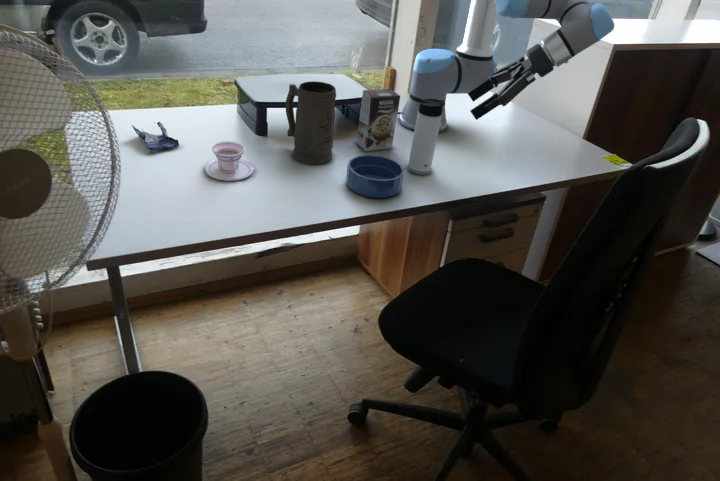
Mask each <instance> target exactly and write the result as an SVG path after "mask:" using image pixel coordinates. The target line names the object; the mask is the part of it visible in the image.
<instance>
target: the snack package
mask: <svg viewBox="0 0 720 481" xmlns="http://www.w3.org/2000/svg"><path fill="white" fill-rule="evenodd" d="M153 123H154V124H156V125H157V126H158V128H160V131H161V134H152V133H149V132H147V131H144V129H142V128H141V130H142V131H141V130H140V129H138V128H136V127H135V125H132V124H130V125H131V127H132V128H133V131H134V132H135V133H136V135H138V137H139V138H140V139H141V141H143V143H144V144H145V145H146V146H147V148H148V149H149V151H153V150H156V149H161V148H162V149H163V150H162V151H167V150H172V149H174V148H176V147H179V146H180V143H179V140H178V139H175V138H174V137H172V136H171V137H170V136H169V134H168V131H167V129H166V127H165V126H164V124H163V123H162V122H160V121H158V122H156V123H155V121H154V122H153ZM152 153H153V152H150V154H152Z"/></svg>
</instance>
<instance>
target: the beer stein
mask: <svg viewBox="0 0 720 481" xmlns="http://www.w3.org/2000/svg"><path fill="white" fill-rule="evenodd" d="M295 97H297V105H296V106H297V107H296V109H295V111H294V100H295ZM285 99H286V100H285V114H286V118H287V119H286V120H287V123H288V130H287V132H286V133H287V134H286V135H287V136H288V137H293V142H294V143H293V145H294V148H293V152H292V154H293V155H292V156H293V157H294V158H295V160H297V161H299V162H301V163H304V164H308V165H323V164H326V163H329V162H330V161H331V160H332V158H333V151H332V150H333V149H334V148H333V147H334V137H335V122H336V110H335V108H336V104H335V102H336V99H337V90H336V87H335V86H334V85H333V84H331V83H328V82H323V81H315V80H314V81H312V80H311V81H304V82H302V83H300V84H299V86H297V85H296V84H294V83H290V84H289V85H288V92H287V96H286V98H285ZM294 112H295V113H294Z"/></svg>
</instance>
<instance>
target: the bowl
mask: <svg viewBox="0 0 720 481" xmlns="http://www.w3.org/2000/svg"><path fill="white" fill-rule="evenodd" d="M404 174H405V168H404V166H403V165H402V164H401V163H399V162H398V161H397V160H395V159H393V158H390V157H387V156H383V155H377V154H362V155H357V156H354V157H352V158H350V159H349V160H348V163H347V169H346V176H345V178H346V179H345V183H346V185H347V187H349V189H350V190H352V191H354V192H355V193H356V194H358V195H361V196H362V197H363V196H364V197H367V198H371V199H385V198H389V197H393V196H395V195H398V193H400V191H402V186H403V180H404Z"/></svg>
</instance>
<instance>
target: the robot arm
mask: <svg viewBox="0 0 720 481" xmlns="http://www.w3.org/2000/svg"><path fill="white" fill-rule="evenodd" d="M498 15H500V16H501V17H505V18H512V19H538V20H555V21H557V23H558V24H559V26H560V27H559V28H558V29H557V30H555V31H553V32H552V33H550V34H549V35H547V36H546V37H544V38H543V39H541V41H540V42H541V43H540V44H539V43H536V44H534V45H533V46H532V47H530V48H529V49H527V50H526V51H525V55H526V57H527V59H526V58H525V56H521V57H520V58H518V59H516V60H515V61H513V62H511V63H509V64H507V65H504V66H503V67H501V68H499V69H498V63H497V60H496V59H495V58H494V51H493V50H492V48H491V45H492V40H493V36H494V33H495V32H494V31H495V27H496V23H497V20H498ZM614 29H615V23H614V20H613V18H612V16H611V14H610V12H609V11H608V9H607V8H606V6H605V5H604V4H603V3H602V2H601V1H598V2H596V3H594V4H592V5H591V4H590V3H589V2H588V1H587V0H470V5H469V10H468V15H467V20H466V24H465V31H464V35H463V40H462V42H461V44H459V45H458V46H457V47H456V49H455V50H456V51H455V52H453V51H451V50H449V49H445V48H428V49H424V50H421V51H420V52H419V53H418V54H417V55H416V57H415V59H414V64H413V68H412V69H413V70H412V76H411V82H410V88H409V95H408V99H407V101H406V103H405V105H404V106H403V109H402V110H401V111H398V114H397V115H398V116H399V123H400V125H402V126H403V127H405V128H407V129H409V130H412V131H415V125H416V120H417V114H418V110H419V104H420V102H421V101H422V100H424V99H438V100H441V101H445V102H446V99H447V95H448V94H452V95H454V94H455V95H456V94H457V95H459V94H460V95H461V94H466V95H468V96H469V98H470V100H471V101H472V102H473V103H474V102H475V101H478V100H479V99H480V98H481V97H483V96H484V95H486V94H487V93H489V92H490V91H491V90H494V88H497V87H499V85H500V84H503V83H506V84H505V85H504V86H503V87H502V88H501V89H500V90H499V91H498V92H494V93H493V94H492V95H491V96H490V97H488V98H487V99H485V100H483V101H482V102H481V103H479V104H478V105H476V106H475V107H473V108H471V109H470V110H469V111H470V113H471V114H472V116H473V118H474V119H475V121H477V120H479V119H480V118H482V117H483V116H485V115H487V114H488V113H490V112H491V111H492V110H495V108H497V107H499V106H502V107H505V106H507V105H508V104H509V103H510V102H512V100H514V99H515V98H516V97H517V96H519V94H520V93H522V91H524V90H525V89H526V88H527V87H528V86H530V85H532V83H534V82H535V81H536V80H537V79H536V77H535V75H536V74H537V75H538V76H539V78H544V77H545V76H547V75H549V74H550V73H551V72H553V71H554V70H555V68H554V67H556V68H560V66H562V65H564V64H568V63H569V61H570V60H571V59H573V58H574V57H575V56H577V55H579V54H580V53H581V52H583V51H585V50H586V49H588V48H590V47H591V46H593V45H595V44H597V43H599V42H600V41H601V40H602V39H604V38H605V37H606V36H607V35H609V34H611V33H612V32H613V31H614ZM446 113H447V112H446V105H445V106H444V105H443V111H442V116H441V121H440V126H439V131H438V133H440V132H443V131H444V130H445V129H446V127H447V115H446Z"/></svg>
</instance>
